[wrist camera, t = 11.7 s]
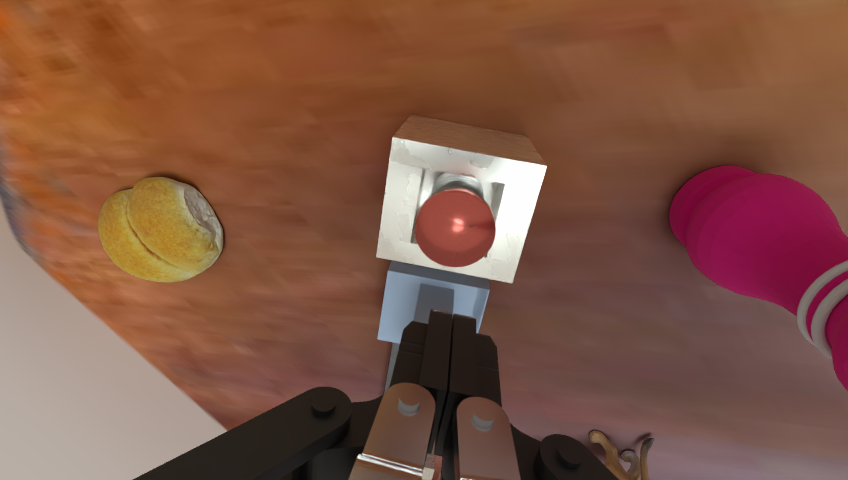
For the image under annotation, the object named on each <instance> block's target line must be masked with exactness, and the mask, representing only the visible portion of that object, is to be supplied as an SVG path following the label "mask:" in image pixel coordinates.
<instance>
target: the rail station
mask: <svg viewBox="0 0 848 480" xmlns="http://www.w3.org/2000/svg"><path fill="white" fill-rule="evenodd" d="M546 167H547V166H546V164H545V163H544V161H543V160H542V158H541V157H540V155H539V154H538V152H537V151H536V149H535V147H534V146H533V144H532V143H531V141H530V140H529V138H528V137H527V136H524V135H519V134H513V133H508V132H503V131H497V130H492V129H487V128H481V127H476V126H471V125H465V124H460V123H455V122H449V121H444V120H439V119H433V118H428V117H423V116H418V115H412V114H411V115H410V116H409V117H408V119H407V120H406V121H405V122H404V123H403V125H402V126H401V127H400V128H399V130H398V131H397V132H396V133H395V135H394V136H393V137H392V145H391V152H390V159H389V167H388V174H387V181H386V188H385V196H384V203H383V210H382V218H381V225H380V232H379V240H378V247H377V254H376V257H378V258H383V259H389V260H394V261H399V262H404V263H406V264H411V265H416V266H421V267H426V268H431V269H437V270H442V271H447V272H452V273H457V274H463V275H468V276H477V277H482V278H487V279H492V280H498V281H503V282H508V283H512V282H513V279H514V276H515V272H516V269H517V265H518V262H519V259H520V255H521V252H522V248H523V245H524V242H525V238H526V235H527V231H528V228H529V225H530V221H531V218H532V214H533V211H534V208H535V204H536V201H537V197H538V194H539V191H540V187H541V184H542V180H543V177H544V174H545V170H546ZM445 172H446V173H451V174H457V175H462V176H467V177H472V178H478V180H479V181H480V183H481V185H482V187H483V193H484V200H485V201H486V202H487V203H488V205H489V206H490V208H491V210H492V212H493V215H494V220H495V228H496V234H495V239H494V242H493V245H492V247H491V249H490V250H489V252H488V253H487V254H486V255H485V256H484V257H483V258H482V259H480V260H479V261H477V262H475V263H473V264H471V265H468V266H464V267H447V266H443V265H440V264H438V263H436V262H434V261H432V260H431V259H429V258H428V257H427V256H426V255H425V254H424V253H423V252H422V250H421V249H420V247H419V245H418V243H417V241H416V237H415V222H416V218H417V215H418V212H419V210H420V208H421V206H422V204H423V203H424V202H425V201H426V200H427V199H428V198H429V197H430V195H431V191H432V187H433V184H434V182H435V181H436V179H437V178H438V177H439V176H440V175H442V174H443V173H445ZM399 345H400V344H399V343H394V342H393V345H392V351H391V356H390V362H389V368H388V374H387V380H386V386H385V392H386V390H387V389H388V388H389V386H390V382H391V378H392V374H393V370H394V366H395V362H396V358H397V354H398V350H399ZM385 392H384V393H385ZM434 447H435V441H434V445H433V450H432V454H427V457H426V462H425V466H424V470H423V475H422V479H425V480H432V477H433V473H434V468H435V455H434Z"/></svg>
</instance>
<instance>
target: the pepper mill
mask: <svg viewBox="0 0 848 480" xmlns="http://www.w3.org/2000/svg"><path fill="white" fill-rule="evenodd" d="M669 223H670V227H671V230H672V232H673V234H674V235H675V237H676V238H677V239H678V240H679V241H680V242H681V243H682V244H683V245H684V246H685V247H686V248H687V252H688V254H689V257H690V259H691V261H692V262H693V264H694V266H695V267H696V268H697V269H698V270H699V271H700V272H701V273H702V274H704V275H705V276H706V277H708V278H709V279H710V280H712V281H713V282H715V283H716V284H717V285H720V286H722V287H724V288H726V289H728V290H731V291H733V292H735V293H738V294H741V295H746V296H750V297H755V298H759V299H763V300H766V301H769V302H773V303H775V304H777V305H780V306H782V307H784V308H786V309H787V310H788V311H790V312H791V313H793V314H794V315H796V316H797V324H798V327H799V330H800V332H801V333H802V335H803V336H804V337H805V338H806V340H807V341H809V342H810V343H811V344H813V345H814V346H816V347H817V348H818V349H819V351H820V352H821V353H822V354H823V355H825V356H826V357H827V358H829V359H831V360H833V366H834V370H835V373H836V375H837V377H838V379H839V381H840V382H841V383H842V385H843V386H844V387H845V389H846V390H847V391H848V237H847V236H846V235H845V234H844V233H843V232H842V230H841V228H840V226H839V223H838V221H837V219H836V217H835V215H834V213H833V212H832V210H831V209H830V207H829V206H828V205H827V204H826V202H825V201H824V200H823V199H822V198H821V197H820V196H819V195H818V194H817V193H815V192H814V191H813V190H812V189H810V188H808V187H806V186H805V185H803V184H801V183H799V182H797V181H795V180H793V179H791V178H787V177H784V176H780V175H772V174H757V173H755V172H753V171H750V170H748V169H746V168H743V167H739V166H719V167H715V168H711V169H708V170H706V171H703V172H701V173H699V174H697V175H696V176H694V177H693V178H691V179H690V180H689V181H687V182H686V183H685V184H684V185H683V186H682V188H681V189H680V190H679V191H678V192H677V194H676V195H675V197H674V199H673V201H672V204H671V207H670V212H669Z"/></svg>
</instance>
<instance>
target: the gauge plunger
mask: <svg viewBox="0 0 848 480" xmlns="http://www.w3.org/2000/svg"><path fill="white" fill-rule="evenodd" d="M495 234H496V228H495V220H494V215H493V212H492V210H491V208H490V206H489V205H488V203H487V202H486V201H485V200H484V193H483V187H482V185H481V183H480V181H479V180H478V178H472V177H467V176H462V175H457V174H451V173H446V172H445V173H443V174H442V175H440V176H439V177H438V178H437V179H436V181H435V182H434V184H433V187H432V191H431V195H430V197H429V198H428V199H427V200H426V201H425V202H424V203H423V204H422V206H421V208H420V210H419V212H418V215H417V218H416V222H415V237H416V241H417V243H418V245H419V247H420V249H421V250H422V252H423V253H424V254H425V255H426V256H427V257H428V258H429V259H431V260H432V261H434V262H436V263H438V264H440V265H443V266H447V267H464V266H468V265H471V264H473V263H475V262H477V261H479V260H480V259H482V258H483V257H484V256H485V255H486V254H487V253H488V252H489V250H490V249H491V247H492V245H493V242H494V239H495Z"/></svg>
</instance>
